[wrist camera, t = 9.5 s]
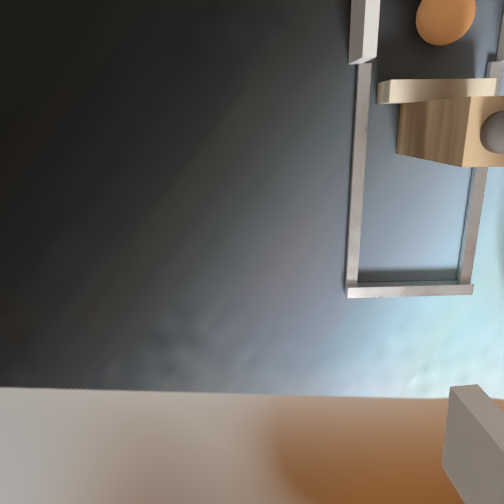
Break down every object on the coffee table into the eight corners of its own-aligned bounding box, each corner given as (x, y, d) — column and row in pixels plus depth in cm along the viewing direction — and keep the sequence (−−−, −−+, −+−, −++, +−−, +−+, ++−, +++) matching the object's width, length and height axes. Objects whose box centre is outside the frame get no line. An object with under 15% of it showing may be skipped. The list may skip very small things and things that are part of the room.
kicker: (372, 153, 36) (438, 170, 24) (377, 83, 34) (450, 63, 22) (465, 152, 36) (574, 167, 24) (475, 81, 34) (597, 62, 23)
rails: (344, 292, 39) (347, 298, 38) (356, 64, 34) (361, 62, 32) (465, 289, 40) (472, 294, 39) (499, 62, 34) (508, 60, 33)
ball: (411, -12, 32) (404, 47, 33) (434, -23, 28) (425, 44, 30) (463, -12, 32) (453, 46, 34) (492, -23, 28) (480, 43, 30)
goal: (348, 64, 33) (362, 57, 30) (352, -30, 32) (368, -51, 28) (508, 62, 34) (542, 55, 30) (522, -31, 32) (561, -52, 28)
